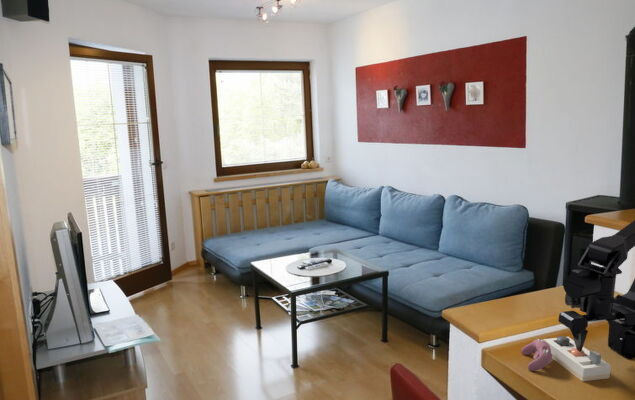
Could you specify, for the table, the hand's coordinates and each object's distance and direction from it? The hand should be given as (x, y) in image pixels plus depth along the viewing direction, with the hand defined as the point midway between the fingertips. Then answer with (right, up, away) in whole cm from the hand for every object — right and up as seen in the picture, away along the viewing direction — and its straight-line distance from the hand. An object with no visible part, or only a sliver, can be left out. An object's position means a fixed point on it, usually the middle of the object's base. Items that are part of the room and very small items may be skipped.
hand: (594, 349), depth 130 cm
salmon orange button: (-5, -2, -1) cm, 5 cm away
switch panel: (-5, -4, +1) cm, 6 cm away
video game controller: (-15, -4, +1) cm, 15 cm away
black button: (-6, 0, +5) cm, 8 cm away
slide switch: (-3, -4, -5) cm, 7 cm away
